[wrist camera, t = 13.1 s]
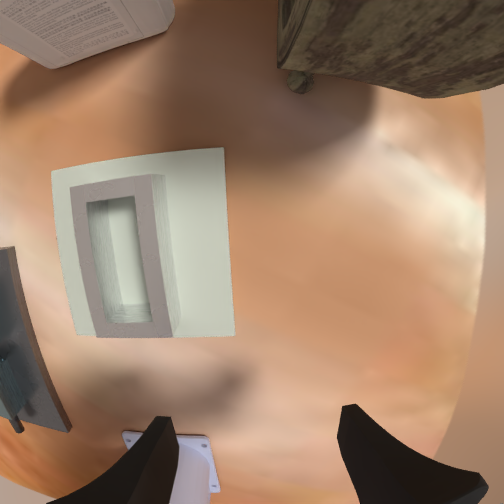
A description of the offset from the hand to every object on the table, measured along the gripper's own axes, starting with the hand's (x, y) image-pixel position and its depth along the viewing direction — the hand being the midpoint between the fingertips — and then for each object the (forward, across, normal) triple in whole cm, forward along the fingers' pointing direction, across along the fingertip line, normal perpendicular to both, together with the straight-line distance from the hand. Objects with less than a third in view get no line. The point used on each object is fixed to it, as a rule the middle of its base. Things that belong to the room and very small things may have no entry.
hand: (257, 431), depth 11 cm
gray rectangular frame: (+9, +7, -6) cm, 13 cm away
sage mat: (+9, +7, -6) cm, 13 cm away
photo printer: (+10, +9, -22) cm, 26 cm away
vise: (+9, +24, +2) cm, 26 cm away
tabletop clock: (+10, -7, -21) cm, 24 cm away
